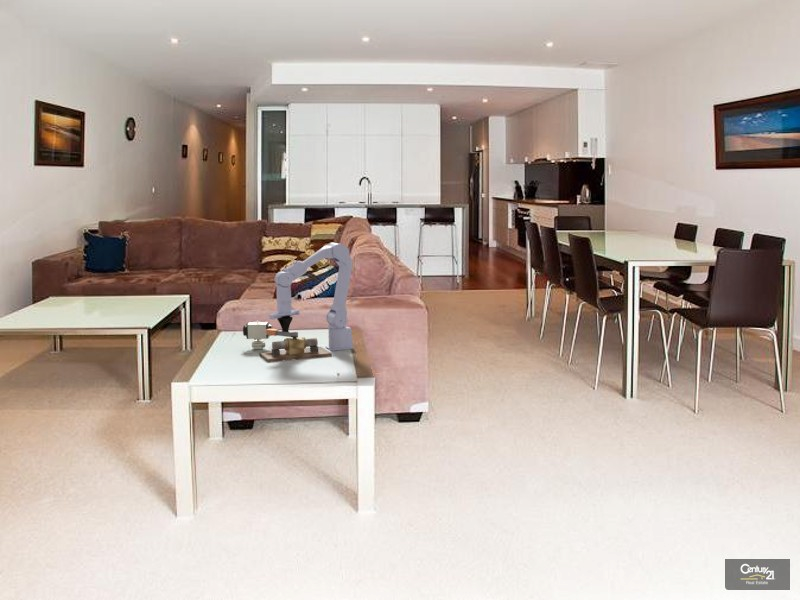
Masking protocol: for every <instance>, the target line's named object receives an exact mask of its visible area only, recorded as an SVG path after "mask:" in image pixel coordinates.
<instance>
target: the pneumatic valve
mask: <svg viewBox="0 0 800 600" xmlns="http://www.w3.org/2000/svg"><path fill="white" fill-rule="evenodd" d="M266 329H274V328H273V325H271V324H270V321H265V322H263V321H262V322H261V321H260V320H256V321H253V322H251V321H249V322H247V323H246V324H245V325H243V328H242V335H243V336H244V337H246V340H253V341H252V342H251V348H252V349H253V350H263V349H264V348H266V342H265V341H264V340H267V339H268V340H269V338H270V336H272V335H266ZM272 337H273V336H272Z"/></svg>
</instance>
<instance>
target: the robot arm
mask: <svg viewBox="0 0 800 600" xmlns="http://www.w3.org/2000/svg"><path fill="white" fill-rule="evenodd" d="M351 257H352V256H351V255H350V249H348V247H347V246H346V245H345V244H343V243H337V242H333V241H332V242H329V243H328V244H326V245H323V247H321V248H320V249H318V250H317V251H316V252H314V253H313V254H311V255H309V257H307V258H306V259H304V260H295V261H293V262H292V263H293V264H291V265H290V266H288V267H287V268H286V267H284V268H283V271H279V272H277V273H276V274H275V275H274V279H273V280H274V283H275V284H276V310H277V311H276V312H274V313H270V314H269V316H268V317H269V320H276V319H277V322H278V323H279V325H280V327H281V331H289V329H290V325H291V323H292V321H293V316H299V315H300V309H293V308H292V290H291V288H292V287H291V285H292V284H293V282H294V281H296V280H297V279H299V278H300V277H301V276H303V275H305V274H307V271H308V269H309V268H310V267H312V266H314V265H315V264H317V263H318V262H320V261H323V260H325V259H331V260H334V261H335V263H336V264H337V265H338V272H337V279H336V285H335V290H334V296H333V302H332V304H331V306H330V307H329V311H328V312H327V313H326V317H325V318H326V322H327V323H328V345H326V346H325V348H327V350H329V351H342V350H351V349H353V348H354V347H353V332H352V328H351V327H350V326H347V324H348V321H349V320H348V315H347V313H348V310H347V307H346V305H347V299H348V293H349V287H350V283H351V282H350V281H351V275H352V269H353V260H352V258H351Z"/></svg>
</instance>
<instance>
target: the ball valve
mask: <svg viewBox="0 0 800 600" xmlns="http://www.w3.org/2000/svg"><path fill="white" fill-rule="evenodd" d="M318 343H319V342H318V339H317V337H313V338H305V337H300V336H298V337H297V338H292V337H287V338H284V339H283V340H278V341H272V342H271V347H272V348H271V351H259V352H258V355H259V356H260V357H261V358H262V359H263V360H265V361H266V362H267V363H274V361H275V362H284V361H283V360H285V361H293V360H292V359H296V360H302V359H303V360H305V359H306V360H307V359H315V358H316V359H317V358H324V357H325V358H327V357H332V356H333V355H332V354H333V353H332V352H330V350H328V349H325V348H324V347H322V346H318V345H319V344H318Z"/></svg>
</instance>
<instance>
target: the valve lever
mask: <svg viewBox="0 0 800 600" xmlns="http://www.w3.org/2000/svg"><path fill="white" fill-rule="evenodd" d="M266 335H272V337H273V336H274V337H277V336H279V337H287V338H297V337H299V332H298V331H289V330H288V331H282V330H280V329H276V328H273V329H266Z"/></svg>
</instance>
